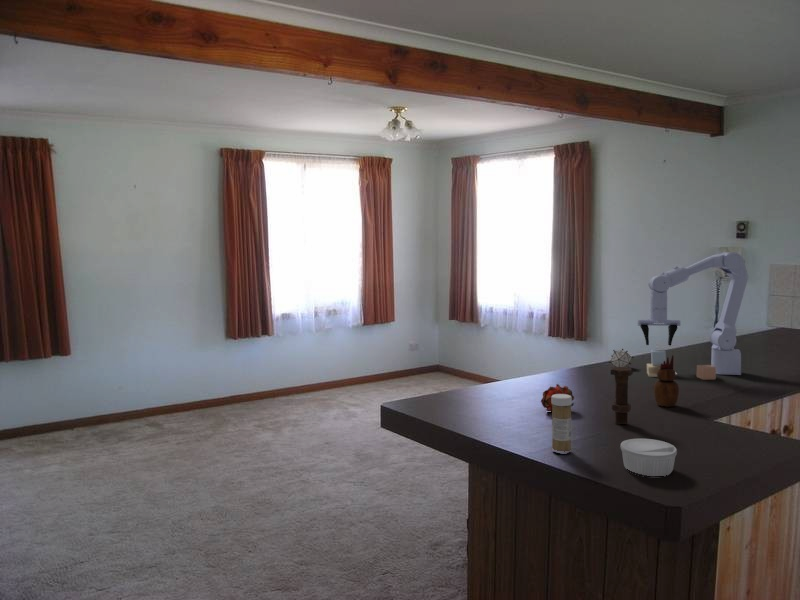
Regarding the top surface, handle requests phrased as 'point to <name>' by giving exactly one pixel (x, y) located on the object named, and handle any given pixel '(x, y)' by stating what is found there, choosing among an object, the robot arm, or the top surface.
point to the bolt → (621, 394)
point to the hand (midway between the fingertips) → (658, 345)
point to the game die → (621, 359)
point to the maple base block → (652, 370)
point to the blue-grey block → (658, 357)
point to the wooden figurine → (666, 385)
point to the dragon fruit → (552, 391)
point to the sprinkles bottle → (561, 422)
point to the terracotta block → (706, 372)
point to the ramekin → (648, 456)
